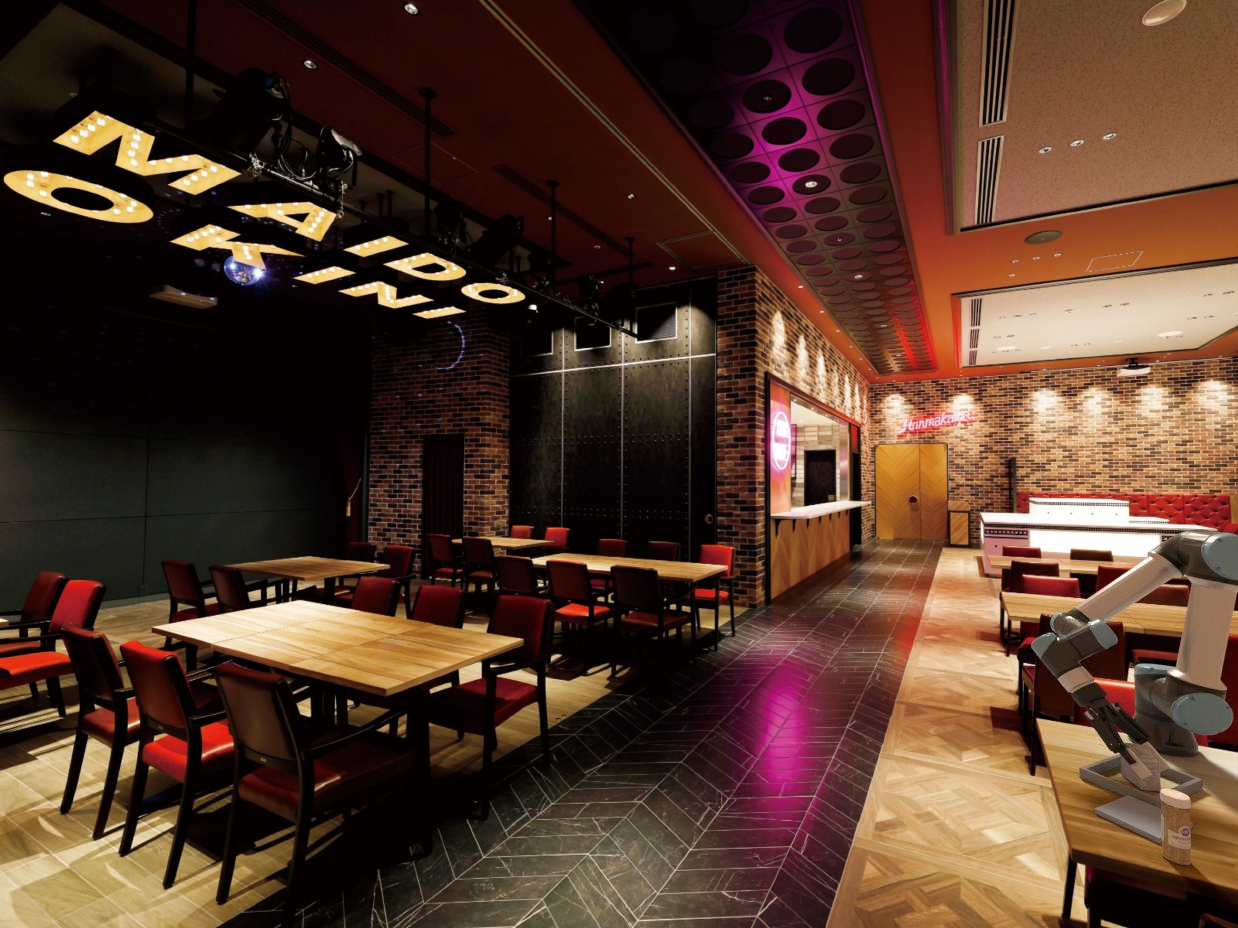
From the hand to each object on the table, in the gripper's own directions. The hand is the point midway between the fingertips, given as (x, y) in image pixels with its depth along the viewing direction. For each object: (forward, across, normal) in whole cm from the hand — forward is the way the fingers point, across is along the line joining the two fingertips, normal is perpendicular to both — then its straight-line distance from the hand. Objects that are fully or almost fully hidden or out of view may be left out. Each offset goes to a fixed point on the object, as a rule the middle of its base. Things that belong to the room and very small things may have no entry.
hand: (1156, 773), depth 145 cm
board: (+7, +19, +1) cm, 20 cm away
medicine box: (+1, 0, -6) cm, 6 cm away
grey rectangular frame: (+1, 0, -5) cm, 5 cm away
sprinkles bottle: (+14, +29, +8) cm, 33 cm away
